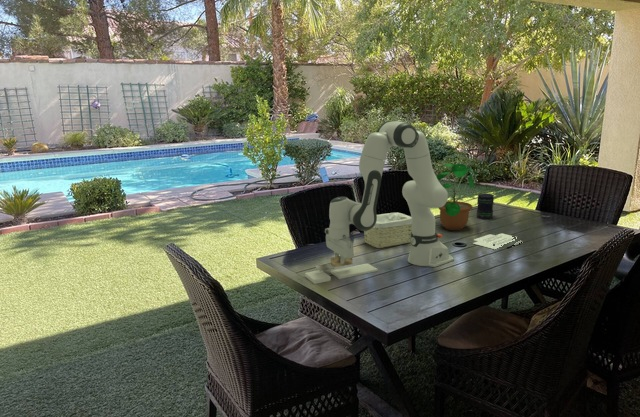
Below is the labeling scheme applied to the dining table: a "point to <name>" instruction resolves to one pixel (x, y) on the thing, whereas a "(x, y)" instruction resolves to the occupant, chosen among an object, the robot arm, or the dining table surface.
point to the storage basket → (389, 230)
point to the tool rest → (353, 271)
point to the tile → (317, 276)
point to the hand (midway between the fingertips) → (339, 262)
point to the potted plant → (455, 211)
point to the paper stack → (495, 240)
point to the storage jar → (485, 206)
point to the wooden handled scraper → (334, 264)
